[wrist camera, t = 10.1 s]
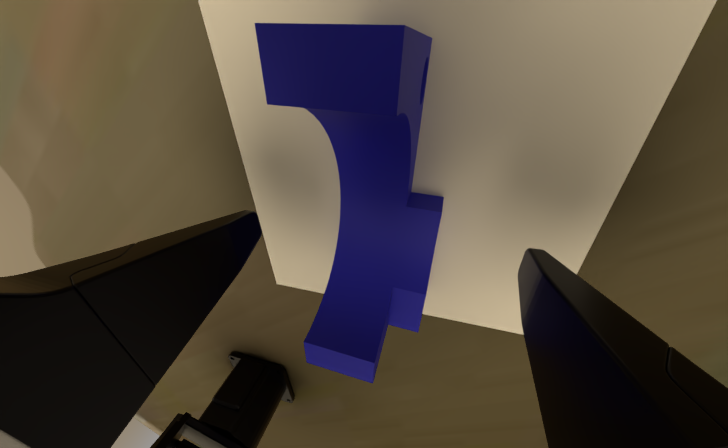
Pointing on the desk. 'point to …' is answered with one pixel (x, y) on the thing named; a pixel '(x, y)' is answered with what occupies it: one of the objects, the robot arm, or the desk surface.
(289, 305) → the desk surface
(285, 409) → the desk surface
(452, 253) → the desk mat
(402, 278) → the cable clip
